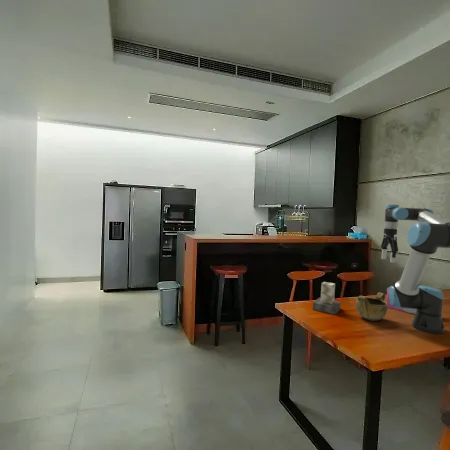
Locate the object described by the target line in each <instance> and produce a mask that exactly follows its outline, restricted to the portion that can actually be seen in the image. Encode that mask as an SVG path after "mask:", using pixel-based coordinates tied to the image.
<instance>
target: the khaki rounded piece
mask: <svg viewBox="0 0 450 450" xmlns="http://www.w3.org/2000/svg"><path fill="white" fill-rule="evenodd" d="M385 298H386V295H385V293H383V292H381V291H380V292H377V294H376V295H375V297H368V296H364V295H359V296H357V297H356V301H355V309H356V312H357V313H358V315H359V316H361V317H362V318H364V319H365V320H368V321H371V322H375V321H379V320H382V319H383V318H385V316H386V314H387V310H388V307H387V301H385Z"/></svg>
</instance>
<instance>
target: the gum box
mask: <svg viewBox="0 0 450 450" xmlns="http://www.w3.org/2000/svg"><path fill="white" fill-rule="evenodd" d="M389 287H390V286H389ZM389 287H387V288H386V303H387V308H388V309H392V310H397V311H401V312H404V313H405V312H406V313H410V314H413V315H415V314H416V312H417V309H410V308H399V307H394V306H392V304H391V303H390V300H389V293H388V291H389Z"/></svg>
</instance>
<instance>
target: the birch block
mask: <svg viewBox="0 0 450 450" xmlns="http://www.w3.org/2000/svg"><path fill="white" fill-rule="evenodd" d="M320 289H321V290H320V298H321V300H320V302H323V303H328V304H332V303H333V302H334V301H335V291H336V290H335V289H336V283H333V282H330V281H329V282H327V281H323V282H321V286H320Z"/></svg>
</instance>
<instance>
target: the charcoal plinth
mask: <svg viewBox="0 0 450 450" xmlns="http://www.w3.org/2000/svg"><path fill="white" fill-rule="evenodd" d="M320 300H321V297H318V298H317V299H316V300H314V301H313V302H312V310H314V311H318V312H322V313H327V314H332V315H337V313H338V312H339V311H340V310H341V308H342V307H341V305H342V302H341V301H337V300H334V302H333V303H332V304H328V303H323V302H320Z"/></svg>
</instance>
